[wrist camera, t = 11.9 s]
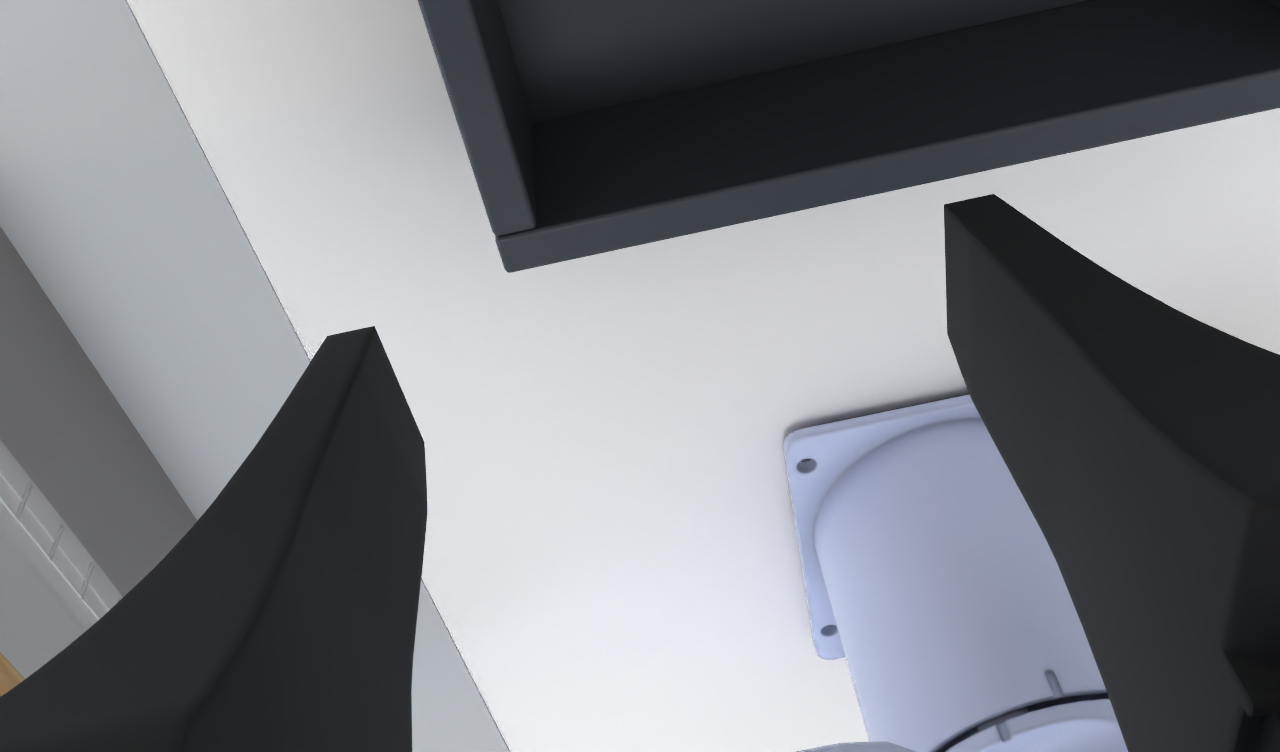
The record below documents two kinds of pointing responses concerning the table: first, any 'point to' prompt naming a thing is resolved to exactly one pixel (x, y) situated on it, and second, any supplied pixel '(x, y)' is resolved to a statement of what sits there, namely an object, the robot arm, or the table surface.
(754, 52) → the bin
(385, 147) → the table surface
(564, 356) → the table surface
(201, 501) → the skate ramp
